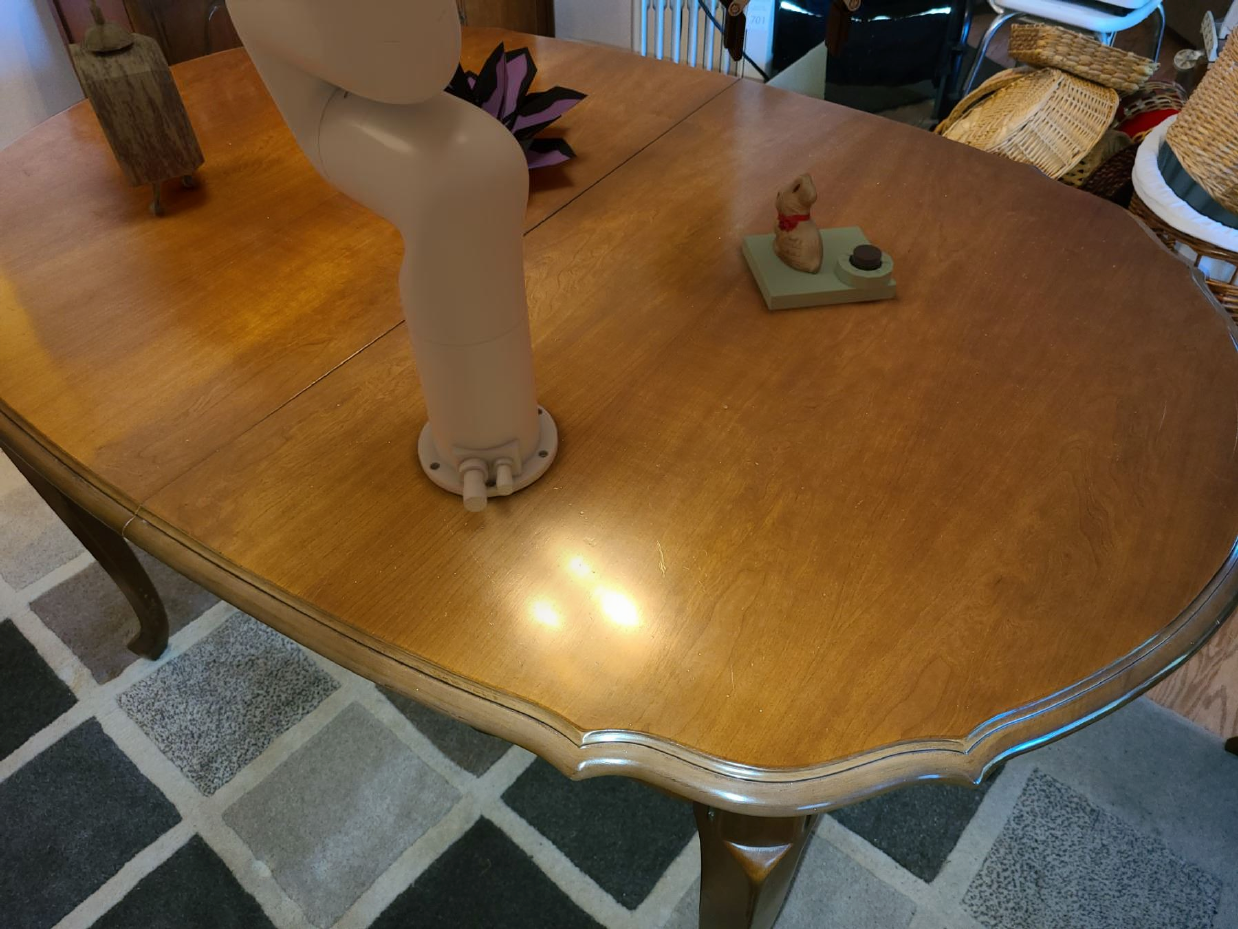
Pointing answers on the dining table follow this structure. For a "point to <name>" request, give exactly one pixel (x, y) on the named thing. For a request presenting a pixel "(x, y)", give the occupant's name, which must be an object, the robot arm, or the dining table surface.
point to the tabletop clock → (137, 105)
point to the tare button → (866, 257)
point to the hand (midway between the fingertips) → (783, 53)
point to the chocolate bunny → (798, 226)
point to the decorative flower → (518, 102)
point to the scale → (829, 283)
